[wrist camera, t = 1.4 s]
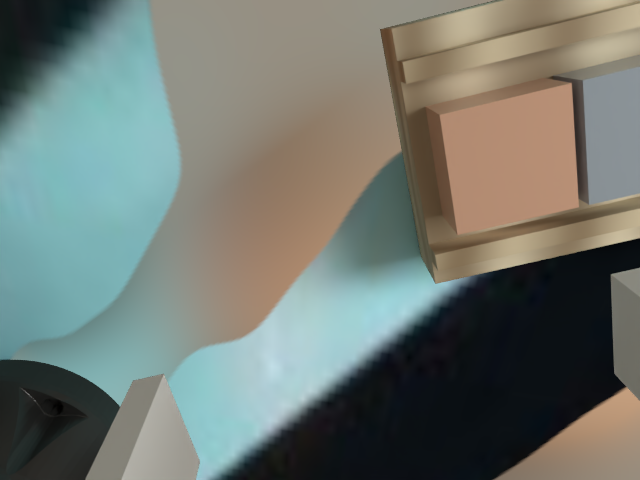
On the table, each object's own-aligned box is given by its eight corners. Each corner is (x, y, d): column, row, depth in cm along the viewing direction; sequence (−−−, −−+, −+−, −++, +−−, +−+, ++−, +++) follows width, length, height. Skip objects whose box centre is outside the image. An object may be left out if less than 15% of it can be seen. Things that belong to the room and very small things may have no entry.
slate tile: (561, 188, 29) (589, 204, 26) (553, 75, 26) (582, 80, 24) (673, 162, 28) (713, 176, 25) (674, 46, 26) (718, 47, 23)
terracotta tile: (442, 215, 29) (457, 235, 26) (425, 106, 27) (439, 114, 24) (551, 190, 29) (578, 207, 26) (543, 77, 26) (571, 83, 24)
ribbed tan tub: (420, 256, 34) (442, 295, 29) (380, 29, 29) (396, 28, 24) (638, 207, 33) (700, 238, 28) (635, -36, 28) (709, -51, 23)
